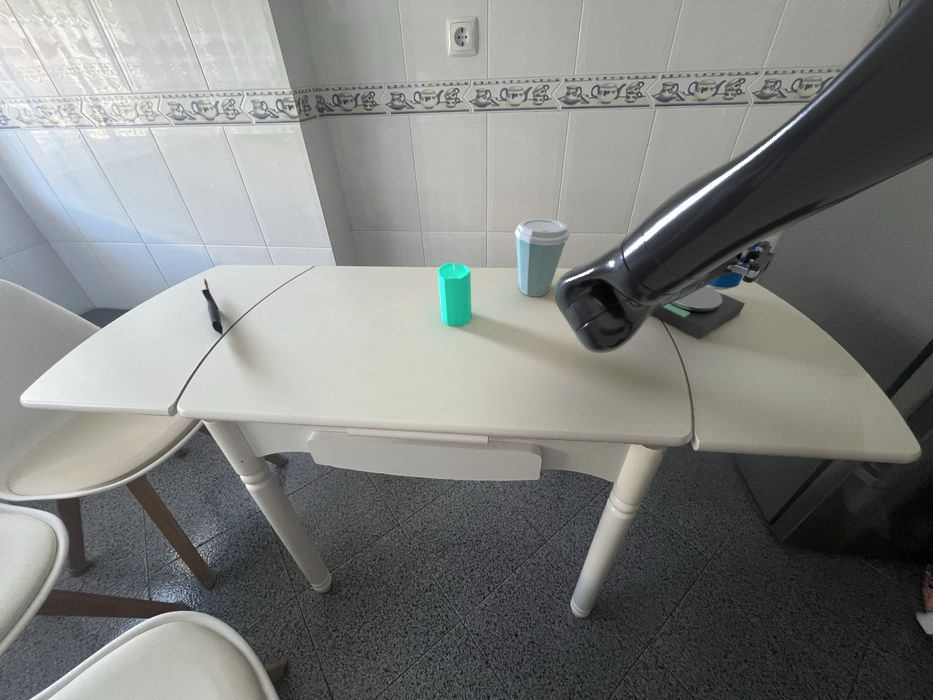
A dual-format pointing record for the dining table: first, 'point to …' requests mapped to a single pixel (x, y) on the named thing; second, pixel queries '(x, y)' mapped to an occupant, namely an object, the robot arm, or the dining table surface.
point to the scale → (699, 317)
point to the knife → (213, 310)
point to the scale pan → (700, 300)
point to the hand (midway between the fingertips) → (739, 240)
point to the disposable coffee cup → (539, 253)
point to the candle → (455, 293)
